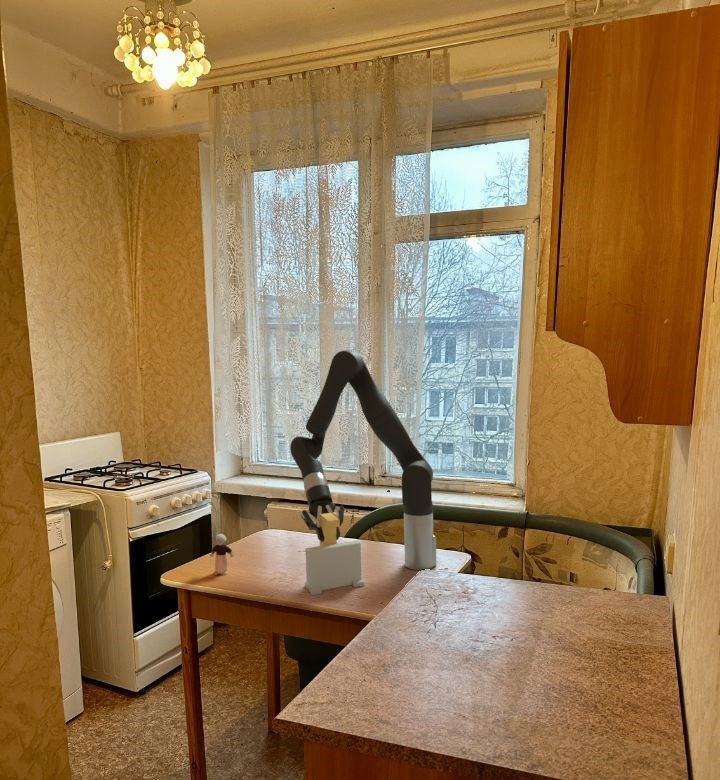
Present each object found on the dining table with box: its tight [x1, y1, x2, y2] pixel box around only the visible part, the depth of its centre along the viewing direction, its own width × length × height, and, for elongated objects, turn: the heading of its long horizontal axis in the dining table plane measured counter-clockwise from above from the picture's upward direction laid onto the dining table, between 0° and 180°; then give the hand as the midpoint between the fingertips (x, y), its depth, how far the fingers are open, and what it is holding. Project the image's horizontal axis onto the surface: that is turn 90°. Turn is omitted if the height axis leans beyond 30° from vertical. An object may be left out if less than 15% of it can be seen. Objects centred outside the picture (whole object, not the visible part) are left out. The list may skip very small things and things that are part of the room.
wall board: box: [304, 540, 365, 596], centre depth 164 cm, size 16×7×12 cm, turn 112°
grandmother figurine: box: [209, 533, 235, 576], centre depth 175 cm, size 8×4×13 cm, turn 92°
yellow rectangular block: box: [319, 513, 341, 546], centre depth 165 cm, size 4×8×12 cm, turn 22°
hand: (330, 539), depth 166 cm, fingers closed on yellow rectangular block, 4 cm apart
